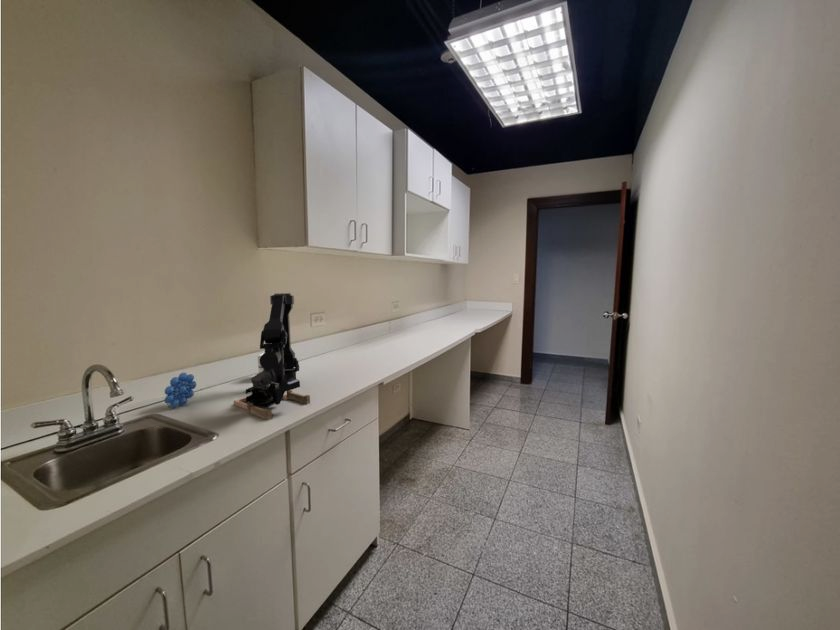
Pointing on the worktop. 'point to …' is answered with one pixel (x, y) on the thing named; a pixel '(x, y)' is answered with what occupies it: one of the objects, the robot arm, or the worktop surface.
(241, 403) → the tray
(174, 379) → the grapes
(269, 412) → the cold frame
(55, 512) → the worktop surface
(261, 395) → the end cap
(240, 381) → the worktop surface
